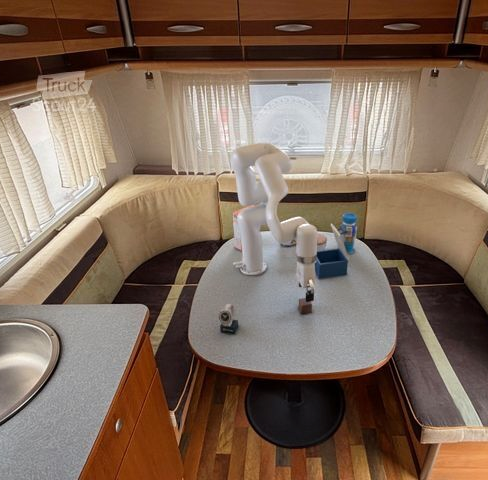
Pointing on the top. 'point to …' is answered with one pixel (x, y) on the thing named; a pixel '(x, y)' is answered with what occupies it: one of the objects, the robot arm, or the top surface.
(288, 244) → the spread jar
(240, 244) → the cracker box
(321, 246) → the trinket box
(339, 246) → the lid
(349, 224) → the beverage bottle
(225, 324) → the watch
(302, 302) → the block
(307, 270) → the robot arm
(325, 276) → the case
